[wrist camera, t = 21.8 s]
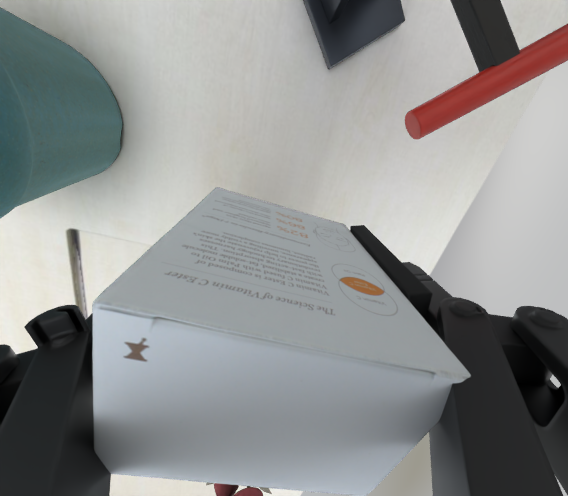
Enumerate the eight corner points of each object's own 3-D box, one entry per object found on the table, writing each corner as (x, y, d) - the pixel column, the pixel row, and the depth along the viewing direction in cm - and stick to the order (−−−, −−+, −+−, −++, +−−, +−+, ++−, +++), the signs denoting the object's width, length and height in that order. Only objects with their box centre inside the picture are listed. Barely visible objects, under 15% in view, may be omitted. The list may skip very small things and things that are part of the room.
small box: (199, 267, 15) (80, 477, 6) (216, 183, 13) (70, 301, 4) (315, 295, 17) (369, 505, 7) (347, 223, 15) (486, 387, 5)
